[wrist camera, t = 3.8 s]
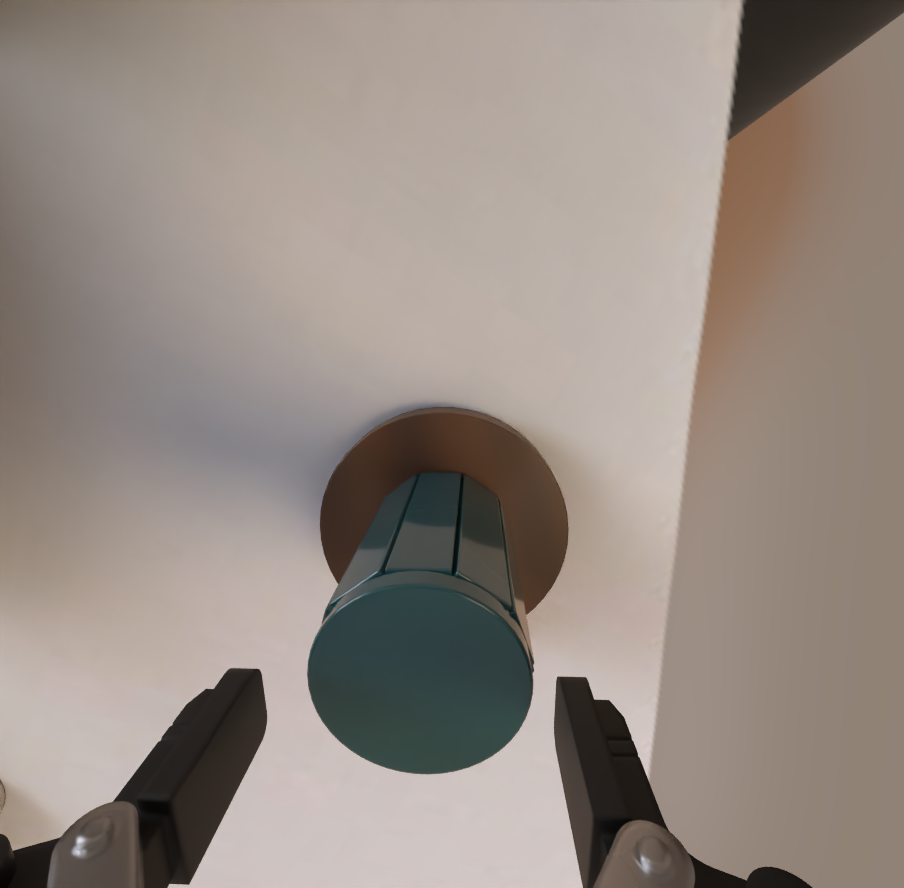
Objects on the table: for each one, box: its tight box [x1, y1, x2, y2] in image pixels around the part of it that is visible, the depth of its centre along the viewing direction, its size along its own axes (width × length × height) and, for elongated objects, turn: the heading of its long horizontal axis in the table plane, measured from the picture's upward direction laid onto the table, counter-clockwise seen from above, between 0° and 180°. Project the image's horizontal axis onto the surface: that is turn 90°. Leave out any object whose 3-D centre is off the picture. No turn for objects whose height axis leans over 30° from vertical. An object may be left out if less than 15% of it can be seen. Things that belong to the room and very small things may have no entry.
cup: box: [307, 473, 534, 774], centre depth 17 cm, size 6×7×10 cm
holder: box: [320, 407, 568, 615], centre depth 19 cm, size 12×12×10 cm
